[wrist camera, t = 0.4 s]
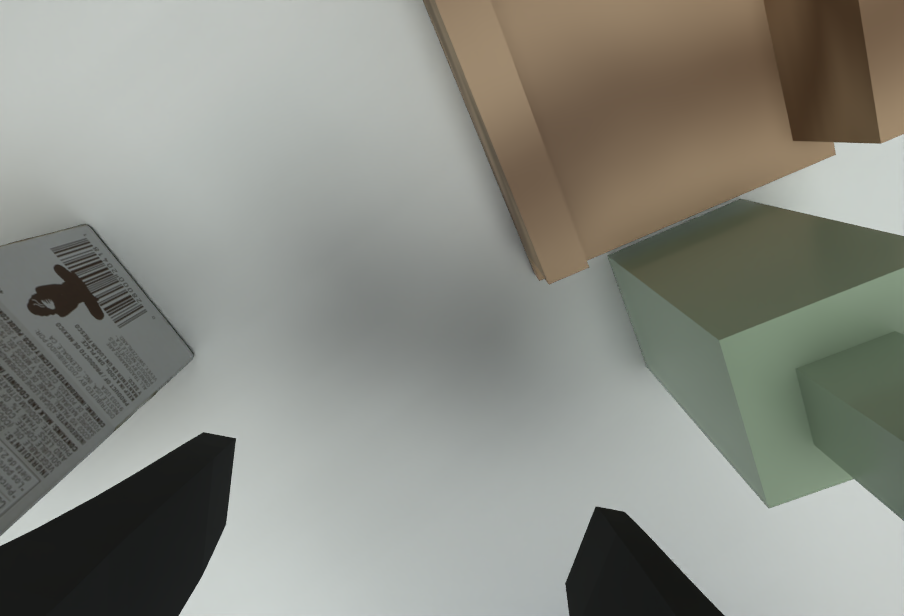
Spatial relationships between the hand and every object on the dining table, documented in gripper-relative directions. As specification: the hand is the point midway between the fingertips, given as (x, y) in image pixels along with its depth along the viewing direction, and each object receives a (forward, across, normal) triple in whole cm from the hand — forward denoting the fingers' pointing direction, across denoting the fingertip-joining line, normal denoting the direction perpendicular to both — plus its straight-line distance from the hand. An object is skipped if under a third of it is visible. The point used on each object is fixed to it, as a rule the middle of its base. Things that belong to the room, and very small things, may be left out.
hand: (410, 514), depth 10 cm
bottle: (+10, -9, -4) cm, 14 cm away
